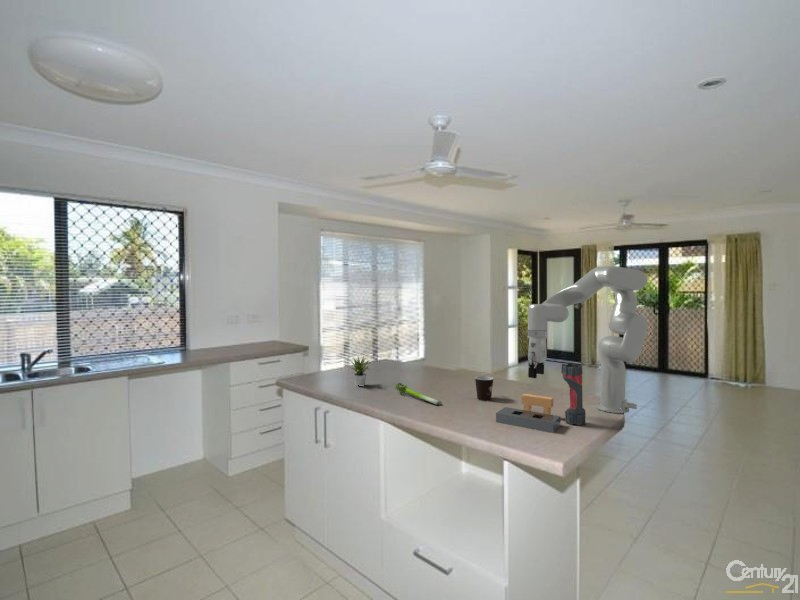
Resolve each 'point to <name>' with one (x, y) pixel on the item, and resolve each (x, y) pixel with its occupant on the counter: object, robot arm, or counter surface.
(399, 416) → the counter surface
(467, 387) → the counter surface
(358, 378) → the house plant
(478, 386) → the coffee mug
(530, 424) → the dark gray slotted block
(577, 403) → the flashlight
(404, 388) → the green celery stalk
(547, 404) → the tan bridge block
